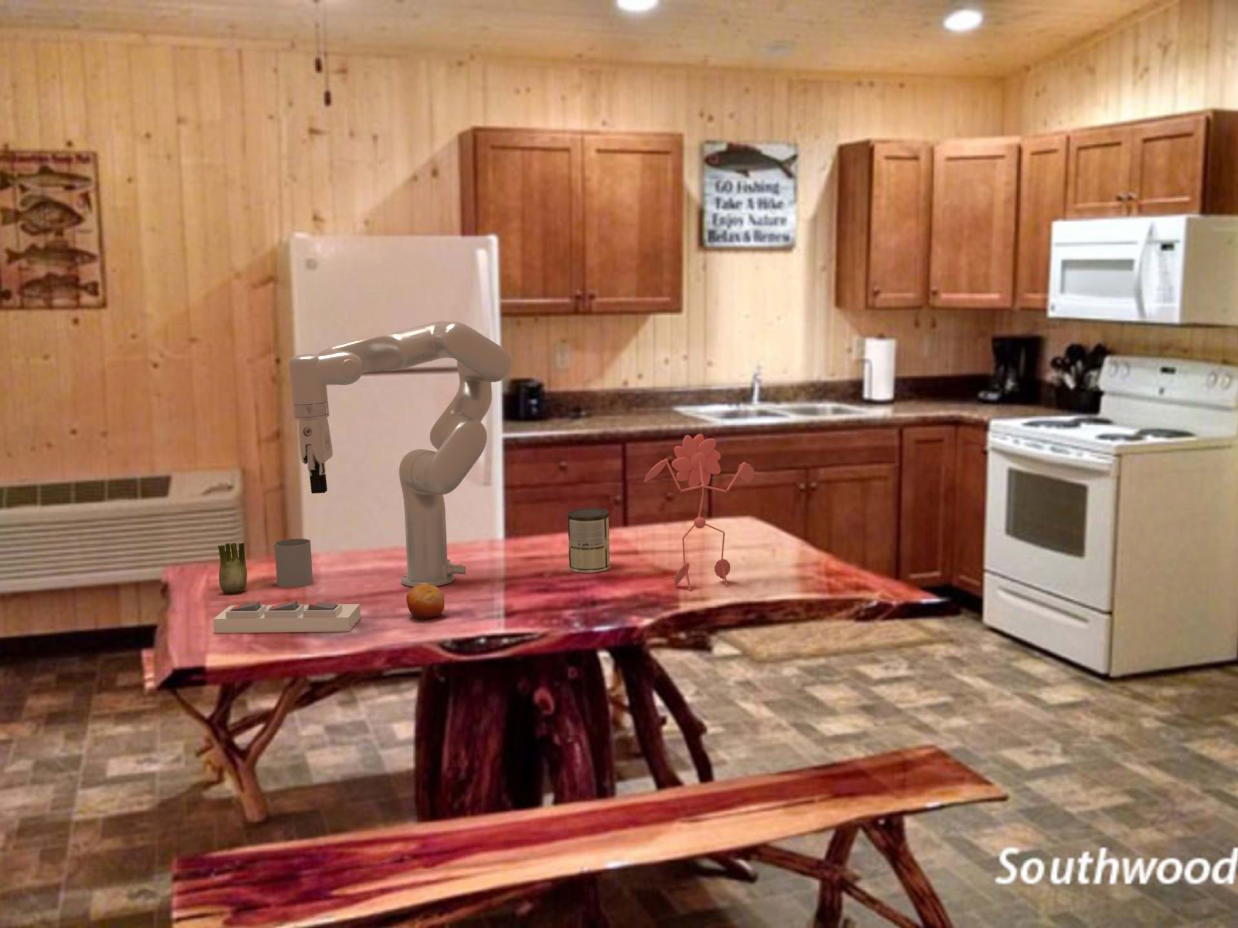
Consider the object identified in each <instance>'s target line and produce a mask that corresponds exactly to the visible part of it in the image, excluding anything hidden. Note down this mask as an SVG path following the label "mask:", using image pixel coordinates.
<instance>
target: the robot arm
mask: <svg viewBox="0 0 1238 928" xmlns="http://www.w3.org/2000/svg"><path fill="white" fill-rule="evenodd" d="M444 358H447V359H455V360H456V367H457V372H458V378H459V386H458V390H457V392H456V394H455V396H454V397H453V399H452V400H451V402H449V405H448V406H447V407H446V408H445V409H444V411H443V412H442V414H441V415H440V416H439V417H438V419H436V421H435V422H434V424H433V426H432V427H431V429H430V433H429V440H430V443H431V445H432V446H433V448H435V449H436V450H437V451H434V450H429V449H422V448H421V449H419V448H418V449H414V450H411V451H409V452H408V453H406V454H405V455H404V456H403V458H402V459H401V461H400V464H399V468H398V469H399V470H398V473H399V475H398V477H399V482H400V488H401V491H402V495H403V496H402V498H403V505H404V506H403V507H404V527H405V528H404V529H405V530H404V531H405V547H406V548H405V549H406V568H407V569H406V570H407V573H405V574H404V575H402V576H401V578H400V579H401V580H400V581H401V584H403V585H405V586H407V587H411V588H413V587H415V586H417V585H419V584H423V583H427V584H430V585H432V586H436V587H439V586H444V585H448V584H450V583H452V582H454V581H455V579H456V578H455V576H456V575H466V574H467V567H466V565H463V564H453V563H451V559H448V546H447V544H448V543H447V523H446V522H447V521H446V520H447V519H446V505H445V504H446V503H445V497H444V495H447V494H450V493H451V492H453V491H454V490H455V489H456V488H458V486H459V485H460V484H461V483H462V482H463V480H464V479H466V476H467V475H468V474H469V473H470V472H471V470H472V468H473V467H474V465H475V464H476V463H477V462H478V460H479V459H480V457H481V456H482V454H483V452H484V450H485V448H486V446H487V440H488V435H487V430H486V428H485V425H484V424H483V423H482V421H483V420H484V418H485V416H486V415H487V413H488V411H489V409H490V407H491V405H492V400H493V389H492V383H497V382H501V381H503V380H504V379H506V378H507V377H508V376H509V374H510V373H511V370H512V359H511V356H510V355H509V353H508V351H507V350H506V349H505V348H504V347H502V346H501V345H500V344H498V343H497V342H495V341H493V340H492V339H490V338H488V337H486V336H485V335H483V334H481V333H480V332H479V331H477V330H476V329H474V328H472V327H471V326H469V325H467V324H465V323H463V322H458V321H448V320H447V321H446V320H441V321H439V320H438V321H433V322H430V323H429V322H428V323H427V324H426V323H425V324H422V325H419V326H414V327H411V328H408V329H404V330H400V331H396V332H392V333H388V334H383V335H378V336H375V337H370V338H367V339H366V338H365V339H361V340H357V341H353V342H348V343H344V344H341V345H336V346H334V347H329V348H326V349H323V350H321V351H320V352H318V353H309V354H297V355H294V356H291V357H290V358H289V361H288V370H289V379H290V389H291V398H292V409H293V418H294V420H298V437H299V438H298V440H299V451H300V458H301V462H302V464H304V465H307V470H308V476H309V483H310V491H311V492H310V493H311V494H325V493H326V492H327V491H328V485H327V474H326V462H327V461H329V460H330V459H331V458H333V455H334V454H333V453H334V451H333V446H332V437H331V430H330V425H329V421H328V418H329V417H330V409H329V408H330V407H329V400H328V399H329V398H328V387H327V386H330V385H331V386H336V385H337V386H348V385H352V384H354V383H356V382H358V381H359V380H360V379H361V377H362V375H363V374H364V373H371V372H372V373H373V372H393V371H394V372H395V371H399V370H404V369H405V370H406V369H409V368H413V367H416V366H418V365H421V364H425V363H430V362H433V361H437V360H439V359H444Z"/></svg>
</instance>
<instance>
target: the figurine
mask: <svg viewBox="0 0 1238 928" xmlns="http://www.w3.org/2000/svg"><path fill="white" fill-rule="evenodd" d="M683 437H684V438H683V441H682V446H680V445H676V446H675V447H674V451H673V452H674V455H675V457H676V459H673V461H672V462H671V465H670V463H669V459H668V458H664V459H663V460H660V461H659V462H658V463H656V464H655V465H654V466H652V468H651V469H650V470H649V471H648V472H647V474H646V475H645V478H644V480H643V481H644V483H646V482H648V481H650V480H652V479H654V478H655V477H656V476H657V475H658V474H659V473H661V472H662V470H663V469H664V468H665V466H667V468H668V470H669V472H670V474H671V476H672V478H673V482H675V485H676V487H677V489H678V490H679V493H683V492H687V491H692V490H696V489H701V497H700V503H699V505H700V506H699V511H698V515H697V517H696V518H695V519H694V520H693V525H692V526H691V527H690V528H689V529H688V530H687V531H686V533H685V534H684V535H683V537H682V555H683V556H682V557H683V558H682V559H683V565H682V566H681V567H680V569H679V570H678V571H677V573H676V574H675V575H673V576H668V577H662V578H660V579H659V580H656V582H654V584H656V583H658V582H660V581H662V580H665V579H670V578H674V582H673V583H674V586H678V584H679V583H680V582H681V581H682V580H683V579H684V578H685V577H686V581H687V588H688V591H689V592H690V591H691V592H692V585H691V581H690V576H691V575H693V573H689V569H690V566H691V565H690V563H689V562H686V552H685V538H686V537H687V536H688V534H689V533H690V532H691V531H692V530H693V528H694V527H695V528H696V529H703V528H705V527H706V526H707V527H709V528H711V529H713V530H715V531H718V532H720V533H722V544H721V557H720V558H721V559H719V560H717V561H716V563H715V565H714V567H713V568H714V570H713V571H714V573H715V575H716V576H717V577H719V578H720V579H721V580H723V581H724V585H725V587H729V584H728V580H727V576H728V575H729V574H730V571H731V564H730V562H729V561H728V560H727V559H724V547H725V536H726V533H725V531H723V530H721V529H720V528H716V527H715V526H712V525H710V524H708V523H707V521H706V520H705V518H704V517H703V516H701V514H702V509H703V504H704V498H705V489H710V490H713V491H717V492H722V493H726V494H727V493H728V492H729V491H730V490H731V488H732V486H733V485H734V483H735V481H736V480H737V478H738V477H740V478H741V479H742V480H744V482H747V483H750V482H751V481H752V480H753V479H754V477H755V470H754V467H752V466H751V464H750V463H747V462H746V461H743V462H742V463H740V464H739V465H738V468H737V472H736V474H735V476H733V478H732V480H731V482H730V483H729V485H728V486H727V488H726V489H722V488H718V487H715V486H713V487H712V486H709V484H710V482H711V481H710V480H711V476H712V475H719V474H720V473H721V470H722V468H721V465H720V463H719V462H718V461H719V460H720V459H721V457H722V456H721V453H720V452H718V451H717V450H715V448H716V444H717V439H714V438H713V437H712V438H711V437H710V438H707V439H705V438H704V434H702V433H699V434H696V435H695V436H694V438H692V436H691V435H689V434H687V435H684V436H683ZM671 466H672V467H673V469H675V470H676V471H678V472H677V473H676V475H675V473H674V471H673V469H672V467H671ZM678 481H679V482H685V481H688V482H687V483H688V487H687V488H683V489H682V488H681V485H680V484H679V482H678ZM700 483H701V485H699V484H700ZM706 574H707V573H702V575H706ZM750 584H752V582H750Z"/></svg>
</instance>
